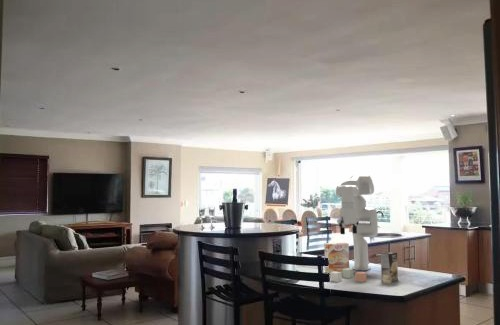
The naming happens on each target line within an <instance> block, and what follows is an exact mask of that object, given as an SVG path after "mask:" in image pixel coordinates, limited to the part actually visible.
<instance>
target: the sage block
mask: <svg viewBox="0 0 500 325" xmlns="http://www.w3.org/2000/svg"><path fill="white" fill-rule="evenodd" d="M341 274H342V278H349V279H351V278H354V269H352V268H350V267H349V268H344V269H342V273H341Z"/></svg>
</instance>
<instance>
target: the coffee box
mask: <svg viewBox="0 0 500 325" xmlns="http://www.w3.org/2000/svg"><path fill="white" fill-rule="evenodd" d="M380 266H381V268H380V269H381V271H380V272H381V275H380V276H382V274H391V282H393V281H396V280H398V279H399V273H398V272H399V270H398V268H399V266H398V252H394V251H387V252H380Z"/></svg>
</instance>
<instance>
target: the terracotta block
mask: <svg viewBox="0 0 500 325" xmlns="http://www.w3.org/2000/svg"><path fill="white" fill-rule="evenodd" d="M354 276H355V278H354V279H355V280H354V281H355V282H357V283H358V282H360V283H365V282H366V281H368V280H367V272H366V271H365V272H364V271H357V272H355V275H354Z"/></svg>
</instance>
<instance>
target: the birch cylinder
mask: <svg viewBox="0 0 500 325" xmlns="http://www.w3.org/2000/svg"><path fill="white" fill-rule="evenodd" d="M381 281H382V284H385V285H391V283H392V282H393V281H391V274H382V275H381Z"/></svg>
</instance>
